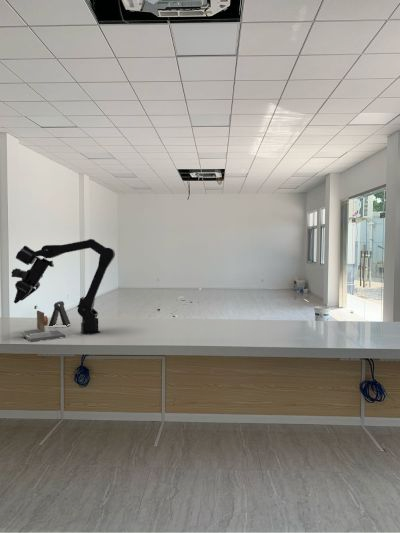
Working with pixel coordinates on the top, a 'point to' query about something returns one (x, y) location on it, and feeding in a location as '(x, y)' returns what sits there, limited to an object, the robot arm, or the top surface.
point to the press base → (41, 335)
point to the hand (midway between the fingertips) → (17, 301)
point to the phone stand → (62, 312)
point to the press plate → (41, 321)
